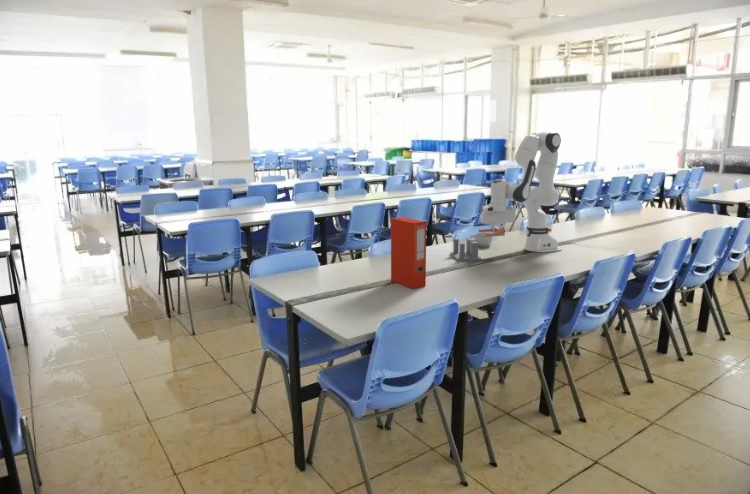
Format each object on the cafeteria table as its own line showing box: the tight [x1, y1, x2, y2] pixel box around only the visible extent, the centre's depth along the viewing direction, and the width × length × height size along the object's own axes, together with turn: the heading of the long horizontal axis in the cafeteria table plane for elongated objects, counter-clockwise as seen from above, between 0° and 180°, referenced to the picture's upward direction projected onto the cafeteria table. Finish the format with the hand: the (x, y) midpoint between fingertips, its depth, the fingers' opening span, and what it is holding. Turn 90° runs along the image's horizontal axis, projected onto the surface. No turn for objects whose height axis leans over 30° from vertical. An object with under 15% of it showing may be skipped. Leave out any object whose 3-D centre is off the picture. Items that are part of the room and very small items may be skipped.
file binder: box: [390, 216, 427, 290], centre depth 255 cm, size 8×17×32 cm, turn 36°
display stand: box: [449, 237, 482, 262], centre depth 308 cm, size 14×17×11 cm
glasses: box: [477, 225, 506, 237], centre depth 308 cm, size 11×14×3 cm
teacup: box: [469, 232, 493, 247], centre depth 339 cm, size 14×11×8 cm
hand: (497, 230), depth 308 cm, fingers closed on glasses, 3 cm apart
